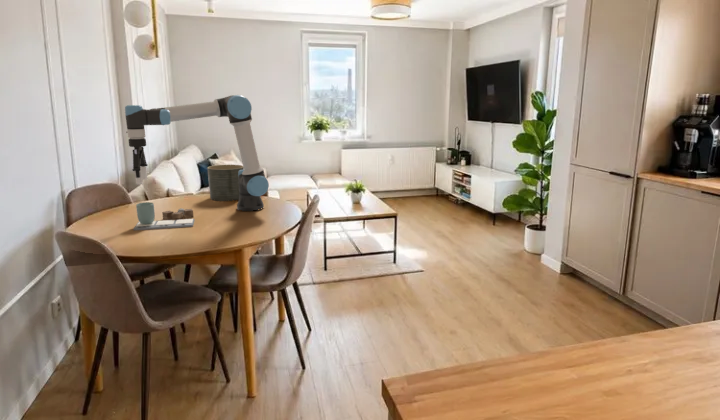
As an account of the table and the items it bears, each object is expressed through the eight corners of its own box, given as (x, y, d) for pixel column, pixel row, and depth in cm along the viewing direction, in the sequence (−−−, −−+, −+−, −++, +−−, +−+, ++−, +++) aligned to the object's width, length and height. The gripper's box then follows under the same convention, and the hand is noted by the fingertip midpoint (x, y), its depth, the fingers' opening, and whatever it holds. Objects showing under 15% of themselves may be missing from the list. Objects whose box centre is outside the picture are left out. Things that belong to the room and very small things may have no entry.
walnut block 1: (169, 217, 244) (169, 210, 243) (174, 219, 242) (173, 211, 241) (163, 219, 241) (162, 212, 240) (167, 220, 238) (166, 213, 237)
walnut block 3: (192, 215, 248) (191, 208, 247) (193, 217, 245) (192, 210, 244) (184, 216, 246) (183, 209, 245) (185, 218, 243) (185, 211, 242)
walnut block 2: (183, 219, 240) (182, 212, 239) (179, 221, 237) (179, 214, 236) (176, 219, 241) (175, 212, 240) (172, 221, 237) (171, 213, 236)
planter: (248, 194, 305) (246, 164, 300) (241, 201, 284) (239, 169, 279) (214, 194, 304) (212, 164, 299) (205, 201, 282) (203, 169, 278)
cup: (148, 225, 223) (146, 206, 221) (134, 224, 225) (132, 205, 222) (158, 221, 231) (156, 202, 228) (145, 221, 232) (143, 201, 230)
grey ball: (186, 214, 251) (185, 207, 250) (185, 216, 247) (184, 209, 246) (178, 214, 250) (177, 207, 249) (177, 216, 246) (176, 209, 245)
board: (194, 220, 238) (194, 218, 238) (192, 226, 227) (192, 224, 226) (138, 224, 231) (138, 221, 231) (133, 230, 220) (133, 228, 219)
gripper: (133, 136, 228) (138, 177, 233) (122, 140, 205) (128, 186, 210) (149, 136, 230) (154, 177, 235) (140, 140, 207) (145, 185, 212)
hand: (141, 181), depth 223 cm, fingers open, 13 cm apart
